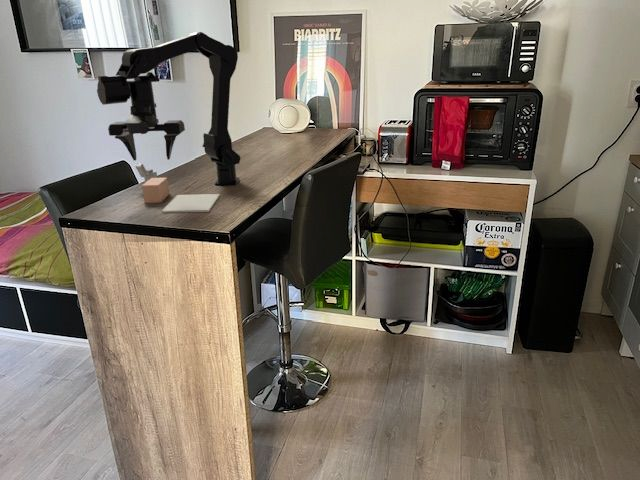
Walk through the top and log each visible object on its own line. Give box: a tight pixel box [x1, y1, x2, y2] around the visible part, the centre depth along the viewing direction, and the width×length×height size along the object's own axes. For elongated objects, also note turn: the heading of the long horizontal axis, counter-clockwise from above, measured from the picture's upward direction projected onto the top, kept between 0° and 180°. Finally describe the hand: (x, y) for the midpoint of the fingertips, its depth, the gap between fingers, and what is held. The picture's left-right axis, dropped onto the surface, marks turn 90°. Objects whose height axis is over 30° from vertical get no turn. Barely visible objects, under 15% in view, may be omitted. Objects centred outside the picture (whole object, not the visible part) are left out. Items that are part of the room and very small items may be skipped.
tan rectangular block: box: [141, 177, 170, 204], centre depth 140 cm, size 8×4×5 cm, turn 179°
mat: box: [161, 193, 221, 214], centre depth 135 cm, size 14×12×1 cm
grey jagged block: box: [135, 163, 158, 183], centre depth 150 cm, size 7×2×8 cm, turn 161°
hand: (151, 159), depth 136 cm, fingers open, 9 cm apart
